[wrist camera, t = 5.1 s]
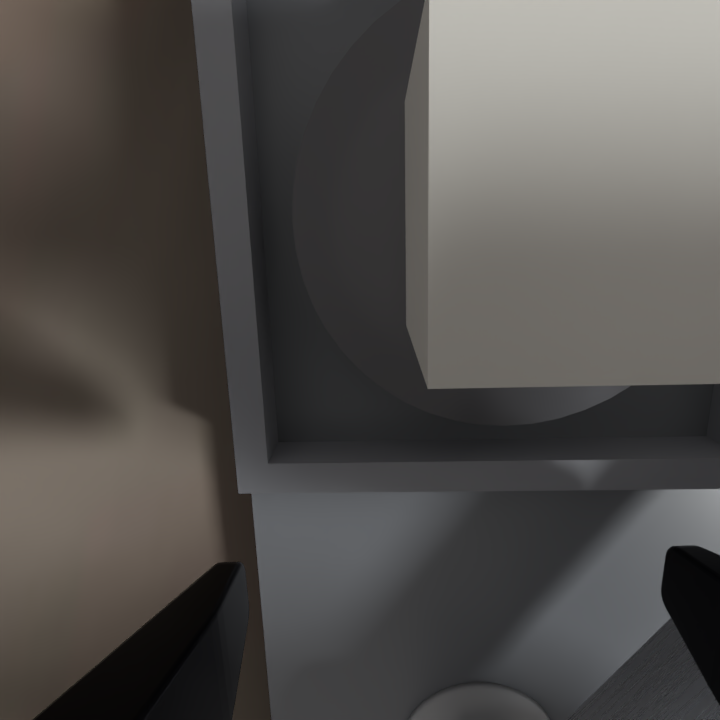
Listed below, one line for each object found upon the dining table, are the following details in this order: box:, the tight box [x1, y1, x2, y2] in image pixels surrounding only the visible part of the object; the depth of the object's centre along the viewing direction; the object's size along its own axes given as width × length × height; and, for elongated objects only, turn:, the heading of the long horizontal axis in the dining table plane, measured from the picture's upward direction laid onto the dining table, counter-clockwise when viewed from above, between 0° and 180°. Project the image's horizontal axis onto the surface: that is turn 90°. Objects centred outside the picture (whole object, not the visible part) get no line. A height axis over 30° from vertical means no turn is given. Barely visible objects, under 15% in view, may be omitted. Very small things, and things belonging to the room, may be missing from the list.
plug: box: [292, 0, 720, 426], centre depth 7 cm, size 7×7×5 cm
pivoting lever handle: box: [567, 618, 720, 720], centre depth 9 cm, size 3×11×3 cm, turn 146°
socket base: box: [191, 0, 720, 720], centre depth 9 cm, size 10×25×2 cm, turn 2°
